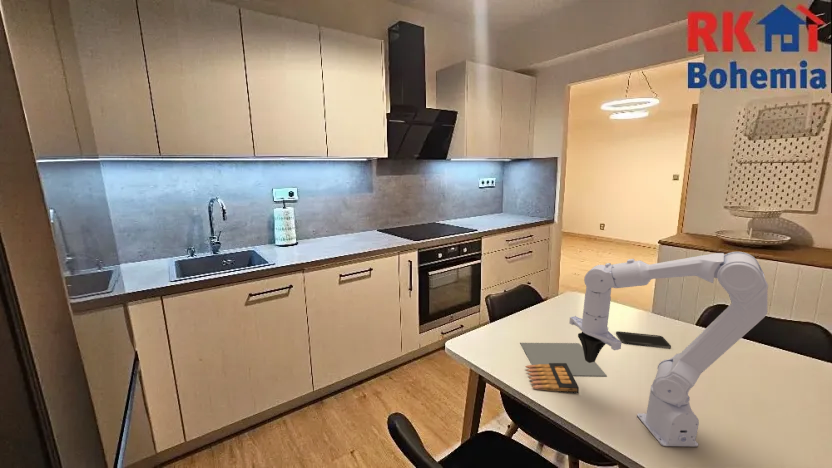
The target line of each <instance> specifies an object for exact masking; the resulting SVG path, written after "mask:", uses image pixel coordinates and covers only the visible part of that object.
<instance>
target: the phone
mask: <svg viewBox="0 0 832 468" xmlns="http://www.w3.org/2000/svg"><path fill="white" fill-rule="evenodd" d="M615 336H616V338H617V339H618V340H619V341H621V342H622V343H621V344H624V345H630V346H637V347H647V348H657V349H658V348H659V349H665V350H670V349H671V348H672V345H671V344H670V343H669V342H668V341H667V339H666V338H664V337H663V336H662V335H656V334H648V333H637V332H630V331H629V332H628V331H627V332H626V331H620V330H619V331H615Z"/></svg>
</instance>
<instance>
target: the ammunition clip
mask: <svg viewBox="0 0 832 468" xmlns="http://www.w3.org/2000/svg"><path fill="white" fill-rule="evenodd" d="M525 368H527V369H526V372H529V373H527V376H530V377H528V378H529V380H531V382H530V384H532V386H531V388H532V389H535V390H541V391H542V390H543V391H549V392H550V391H551V392H552V391H553V392H558V393H567V394H579V389H580V387H579V385H578V383H577V380H575V376H573V375H572V373H571V371H570V369H569V367H568V365H567V363H549V364H538V365H532V364H527V365H526V366H525Z"/></svg>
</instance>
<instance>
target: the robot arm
mask: <svg viewBox="0 0 832 468" xmlns="http://www.w3.org/2000/svg"><path fill="white" fill-rule="evenodd" d="M683 277H698V278H700V279H702V280H704V281H707V282H709V283H711V284H714V281H715V279H717V282H719V285H720V286H721V287H722V288H723V289H724V291H725V292H726V293H727V294H728V297H729V299H730V302H731V304H729V305H728V306H727V307H726V308H725V309H724V310H723V311H722V312H721V313H720V314H719V315H718V316H716V318H715V319H713V321H712V322H711V323H709V325H708V326H707V327H706V328H704V329H703V331H702V332H701V333H699V335H697V337H695V338H694V339H693V340H692V341H691V343H689V344H688V345H687V346H686V347H685V348H684V349H683V350H682V351H681V352H678V353H676V354H674V355H673V356H672V357H670V358H668V359H663V360H662V361H660V362H659V363H658V364H657V371H656V374H655V377H654V379H653V381H652V384H651V385H650V390H649V396H648V401H647V408H646V413H638V412H637V414H636V415H637V418H638V419H639V420H640V421H641V423H643V425H644V426H645V427H646V428H647V429H648V431H649V432H650V433H651V434H652V435H653V436H654V438H655V439H656V440H657V441H658V442H659V444H660V445H661V446H663V447H698V446H699V443H698V442H697V441H696V440H697V435H698V429H699V425H700V421H699V418H698V416H697V415H696V414H695V413H694V411H693V409H692V407H691V404H690V396H689V392H690V390H691V389H693V387H694V386H696V383H697V381H698V380H699V378H700V376H701V375H702V374H703V373H704V372H705V371H706V370H707V369H709V368H710V367H711V366H712V365H713V364H714V363H715V362H716V361H717V360H718V359H720V358H721V356H723V355H724V354H725V353H727V351H728V350H730V349H731V348H732V347H733V346H734V345H735V344H736V343H737V342H739V340H741V339H742V338H743V337H744V336H745V335H746V334H747V333H749V331H751V330H752V329H754V328H755V326H756V325H758V324H759V323H760V322H761V321H762V320H763V319H764V318H766V316H767V314H768V307H769V306H768V305H769V304H768V303H769V302H768V298H769V297H768V296H769V295H768V290H769V284H768V282H767V280H766V277H765V274H764V271H763V268H762V267H761V264H760V263H759V260H758V259H757V258H755V256H753V255H751V254H749V253H747V252H744V251H743V252H742V251H732V252H728V253H725V252H715V253H709V254H702V255H698V256H691V257H686V258H680V259H674V260H668V261H662V262H655V263H651V264H649V263H646V262H644V261H643V260H635V258H629V259H627V260H626V262H620V263H615V264H611V262H608V263H605V264H598V265H595V266H593V267H592V268H591V269H590V270H589V271H587V272H586V274H585V276H584V280H583V281H584V284H585V286H586V288H585V293H584V301H583V302H584V303H583V308H582V309H583V311H582V318H580V317H579V316H576V315H575V316H570V317H569V323H568V324H570V325H572V326H575V327H577V328H578V329H579V330H580V331H581V332H579V333H578V334H577V338H578V339H579V341H580V345H581V346H582V347H583V351H584V356H585V360H586V361H587V362H588V363H591V362H596V360H597V358H598V356H599V354H600V352H601V351H602V348H603V347H605V346H606V345H608V346H609V347H610V348H611V350H613V351H618V350H620V349H622V344H623V343H622V342H621V341H620V340H619V338H618V337H616V336H614V334H613V333H611V332H610V330H609V327H608V324H609V315H610V310H611V309H610V307H611V300H612V297H611V293H612V289H621V288H622V289H623V288H624V289H625V288H633V287H642V286H647V285H649V283H650V282H651V280H656V279H658V280H659V279H671V278H683Z"/></svg>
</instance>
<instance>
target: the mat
mask: <svg viewBox="0 0 832 468" xmlns="http://www.w3.org/2000/svg"><path fill="white" fill-rule="evenodd" d="M520 345H521V347H522V349H523V352H524V353H525V355H526V357H527V358H528V360H529V363H530V365H538V364H549V363H567V365H568V367H569V369H570V371H571V373H572V375H573V377H608V375H607V374H606V372H604V371H603V369H602V368H601V366H599V364H597V362H596V361H595V362H591V363H588V362H587V361H586V360H585V356H584V351H583V347H582V344H581V343H579V342H573V343H572V342H520Z"/></svg>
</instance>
